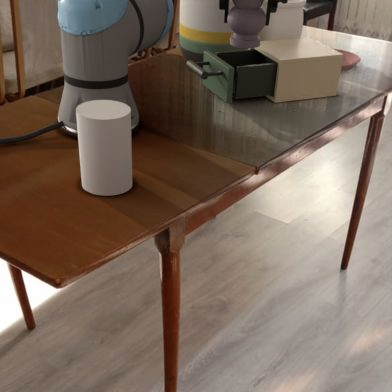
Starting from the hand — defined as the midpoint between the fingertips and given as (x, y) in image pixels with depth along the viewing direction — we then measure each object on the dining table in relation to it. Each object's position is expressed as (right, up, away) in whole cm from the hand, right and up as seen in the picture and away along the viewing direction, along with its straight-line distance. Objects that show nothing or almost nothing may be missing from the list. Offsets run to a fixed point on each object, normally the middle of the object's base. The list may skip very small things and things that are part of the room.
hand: (246, 18), depth 130 cm
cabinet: (+11, -10, +11) cm, 18 cm away
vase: (-6, +1, +23) cm, 24 cm away
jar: (+9, +1, +24) cm, 25 cm away
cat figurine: (0, -6, 0) cm, 6 cm away
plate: (+23, +2, +26) cm, 35 cm away
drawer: (-2, -13, +6) cm, 14 cm away
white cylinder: (-25, -42, -28) cm, 56 cm away
